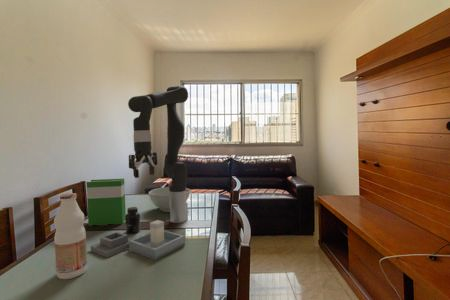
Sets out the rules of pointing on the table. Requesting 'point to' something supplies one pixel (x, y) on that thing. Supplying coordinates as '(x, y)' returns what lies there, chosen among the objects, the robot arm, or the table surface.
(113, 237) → the grey stepped block piece
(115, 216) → the green cereal box
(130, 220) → the supplement bottle
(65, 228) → the fruit juice
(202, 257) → the table surface
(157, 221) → the block
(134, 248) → the parts tray
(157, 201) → the decorative bowl
